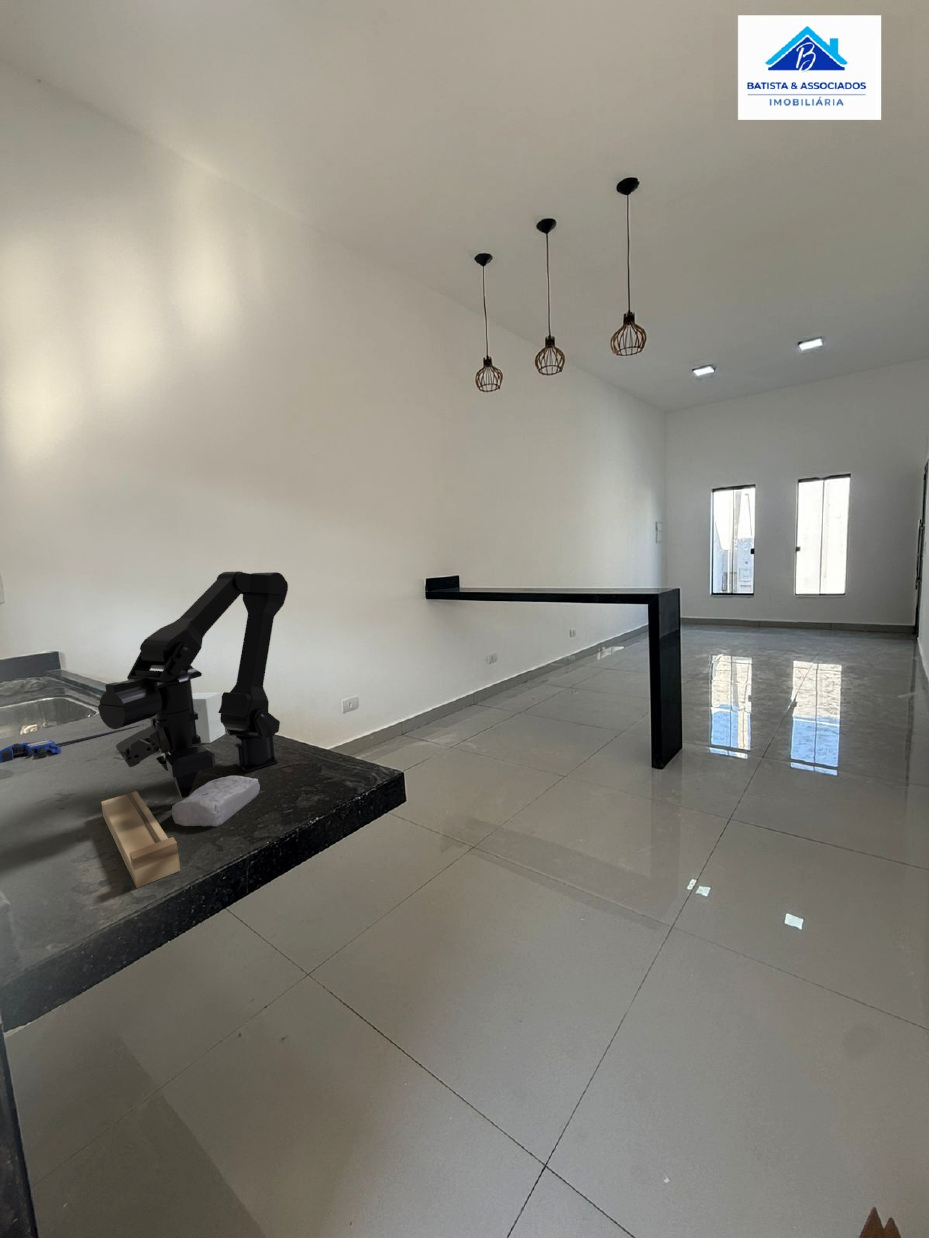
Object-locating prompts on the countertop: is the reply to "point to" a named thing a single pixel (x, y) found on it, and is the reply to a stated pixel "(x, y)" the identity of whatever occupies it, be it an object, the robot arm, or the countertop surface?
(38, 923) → the countertop surface
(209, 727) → the skincare box
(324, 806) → the countertop surface
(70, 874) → the countertop surface
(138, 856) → the wooden grooved rail
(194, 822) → the stone block
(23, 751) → the bar clamp
